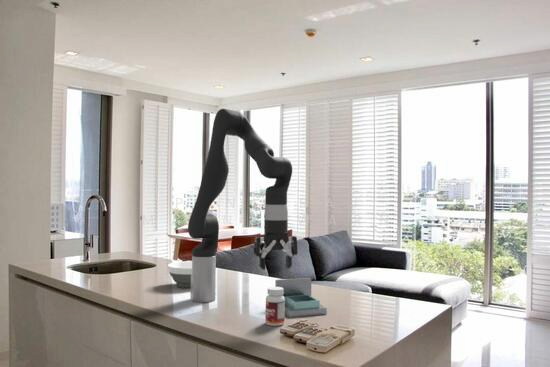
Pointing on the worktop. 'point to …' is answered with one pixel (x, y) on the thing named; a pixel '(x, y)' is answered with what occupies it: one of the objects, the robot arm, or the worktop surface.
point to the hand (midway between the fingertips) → (275, 268)
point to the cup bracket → (299, 298)
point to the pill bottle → (275, 306)
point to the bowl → (181, 273)
